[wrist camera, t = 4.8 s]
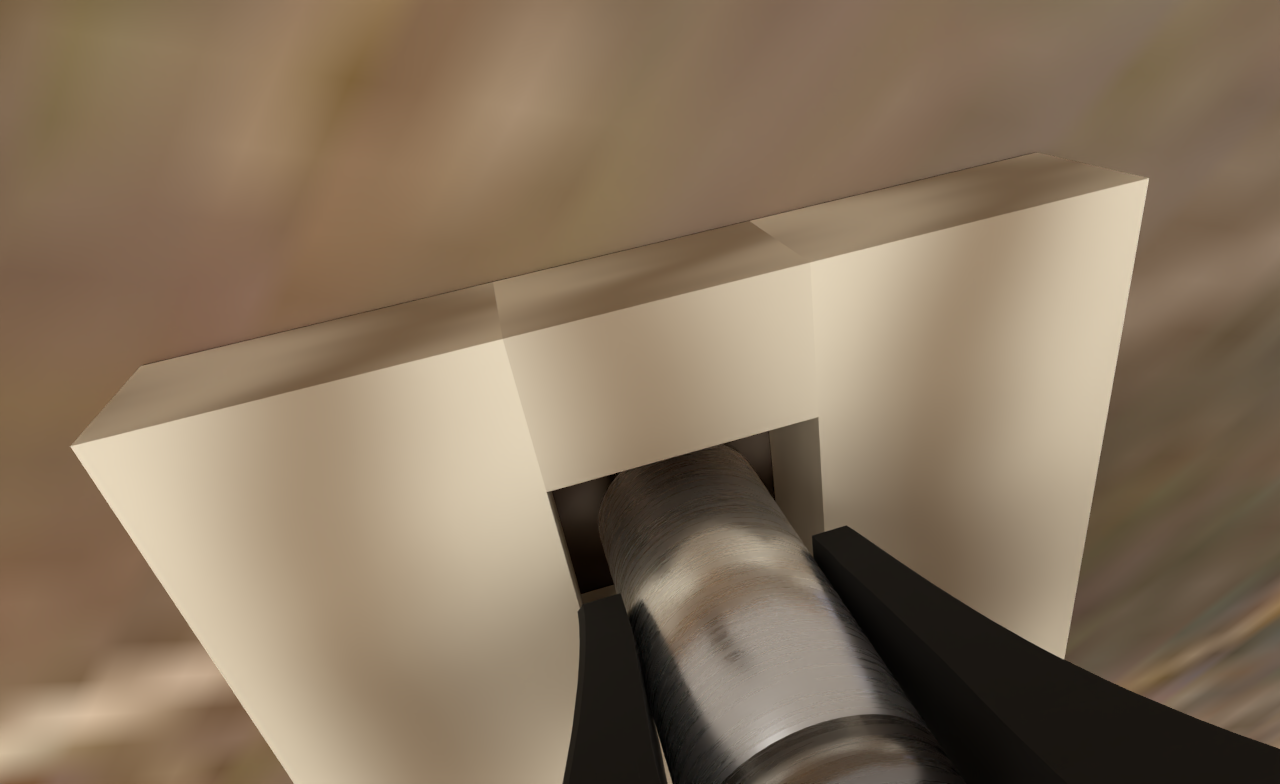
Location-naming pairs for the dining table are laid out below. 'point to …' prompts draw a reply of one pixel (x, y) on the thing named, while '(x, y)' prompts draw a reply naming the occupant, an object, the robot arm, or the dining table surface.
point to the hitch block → (622, 451)
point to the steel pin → (751, 638)
